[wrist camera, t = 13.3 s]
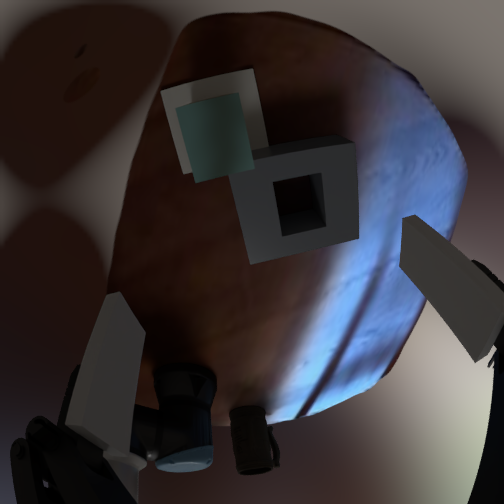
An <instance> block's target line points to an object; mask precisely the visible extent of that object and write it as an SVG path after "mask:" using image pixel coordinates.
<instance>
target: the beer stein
mask: <svg viewBox="0 0 504 504" xmlns="http://www.w3.org/2000/svg"><path fill="white" fill-rule="evenodd" d="M265 414H266V413H265V410H264V409H263V408H261V407H257V406H245V407H240V408H237V409H234V410H233V411H232V412H231V413H230V414H229V417H230V420H231V423H230V425H231V437H232V442H233V451H234V455H235V459H236V469H237V471H238V474H240V475H256V474H263V473H266V472H269V471H271V470H272V469H273V467H274V468H278V467H280V464H279V459H280V450H279V447H278V444H277V442H276V440H275V438H274V436H273V434H272V431H273V427H272V426H268V427H267V422H266V419H265ZM270 445H271V447H270ZM271 448H272V451H273V460H272V458H271V452H270V451H271Z"/></svg>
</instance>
